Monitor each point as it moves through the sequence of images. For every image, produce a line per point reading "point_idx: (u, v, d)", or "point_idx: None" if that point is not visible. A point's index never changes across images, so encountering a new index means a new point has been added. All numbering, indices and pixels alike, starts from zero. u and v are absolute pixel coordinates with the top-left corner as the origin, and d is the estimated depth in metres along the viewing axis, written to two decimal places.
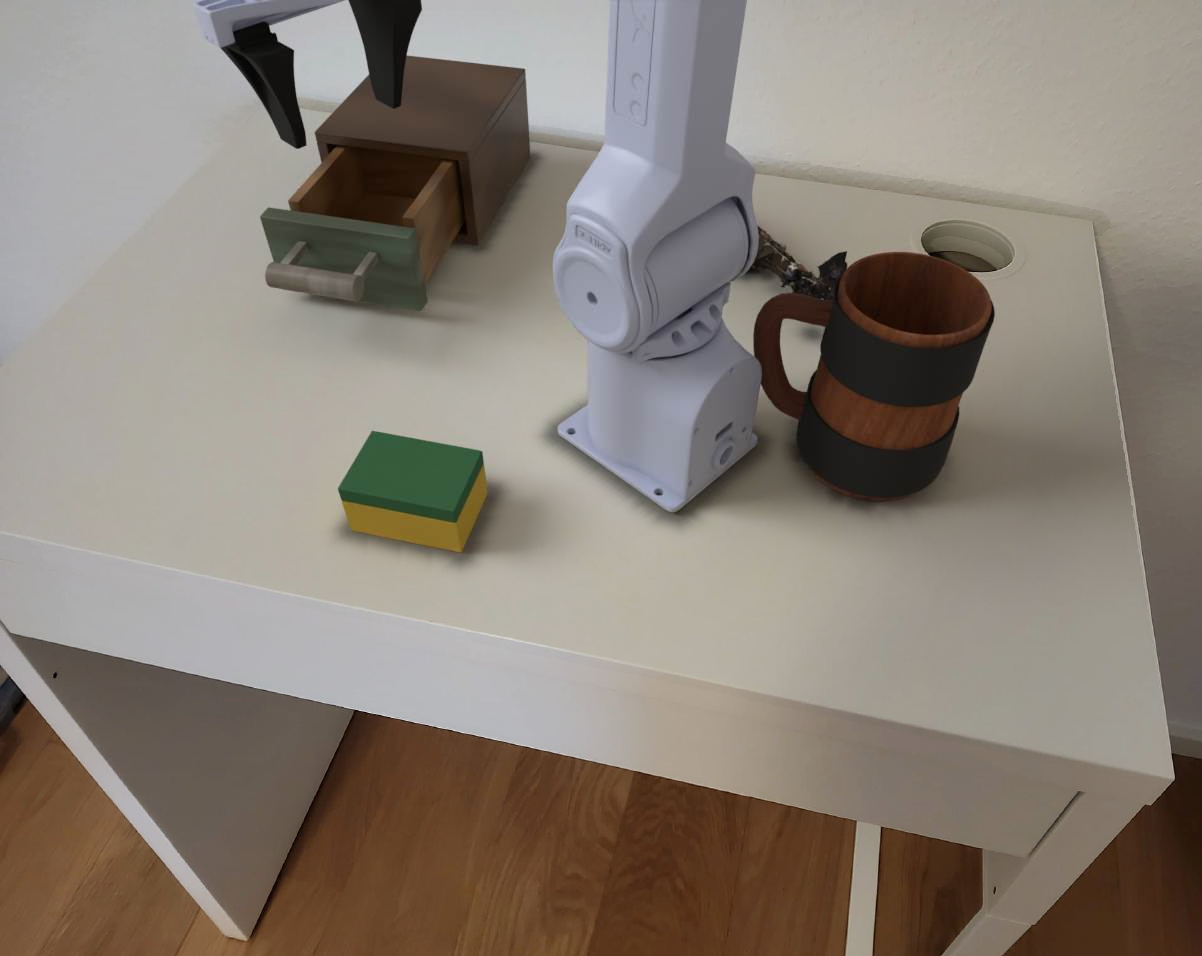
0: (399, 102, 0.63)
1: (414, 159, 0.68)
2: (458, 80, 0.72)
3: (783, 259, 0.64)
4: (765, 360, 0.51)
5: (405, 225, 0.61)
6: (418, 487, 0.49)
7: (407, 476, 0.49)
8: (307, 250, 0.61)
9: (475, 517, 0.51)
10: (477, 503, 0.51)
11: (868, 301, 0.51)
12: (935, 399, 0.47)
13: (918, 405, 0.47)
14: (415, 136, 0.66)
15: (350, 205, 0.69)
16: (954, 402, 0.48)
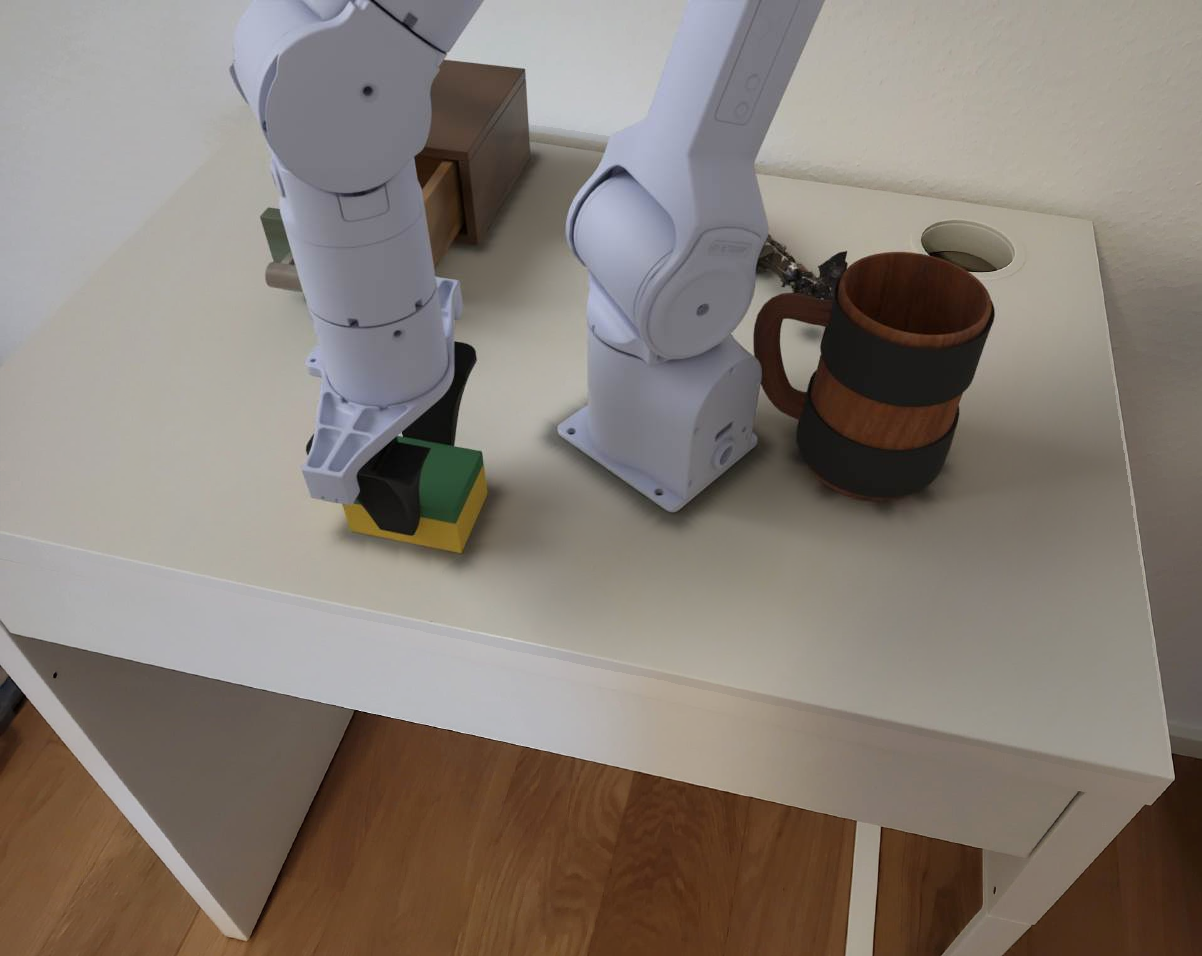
0: None
1: (414, 159, 0.68)
2: (458, 80, 0.72)
3: (783, 259, 0.64)
4: (765, 360, 0.51)
5: None
6: None
7: None
8: None
9: (475, 517, 0.51)
10: (477, 504, 0.51)
11: (868, 301, 0.51)
12: (935, 399, 0.47)
13: (918, 405, 0.47)
14: None
15: None
16: (954, 402, 0.48)
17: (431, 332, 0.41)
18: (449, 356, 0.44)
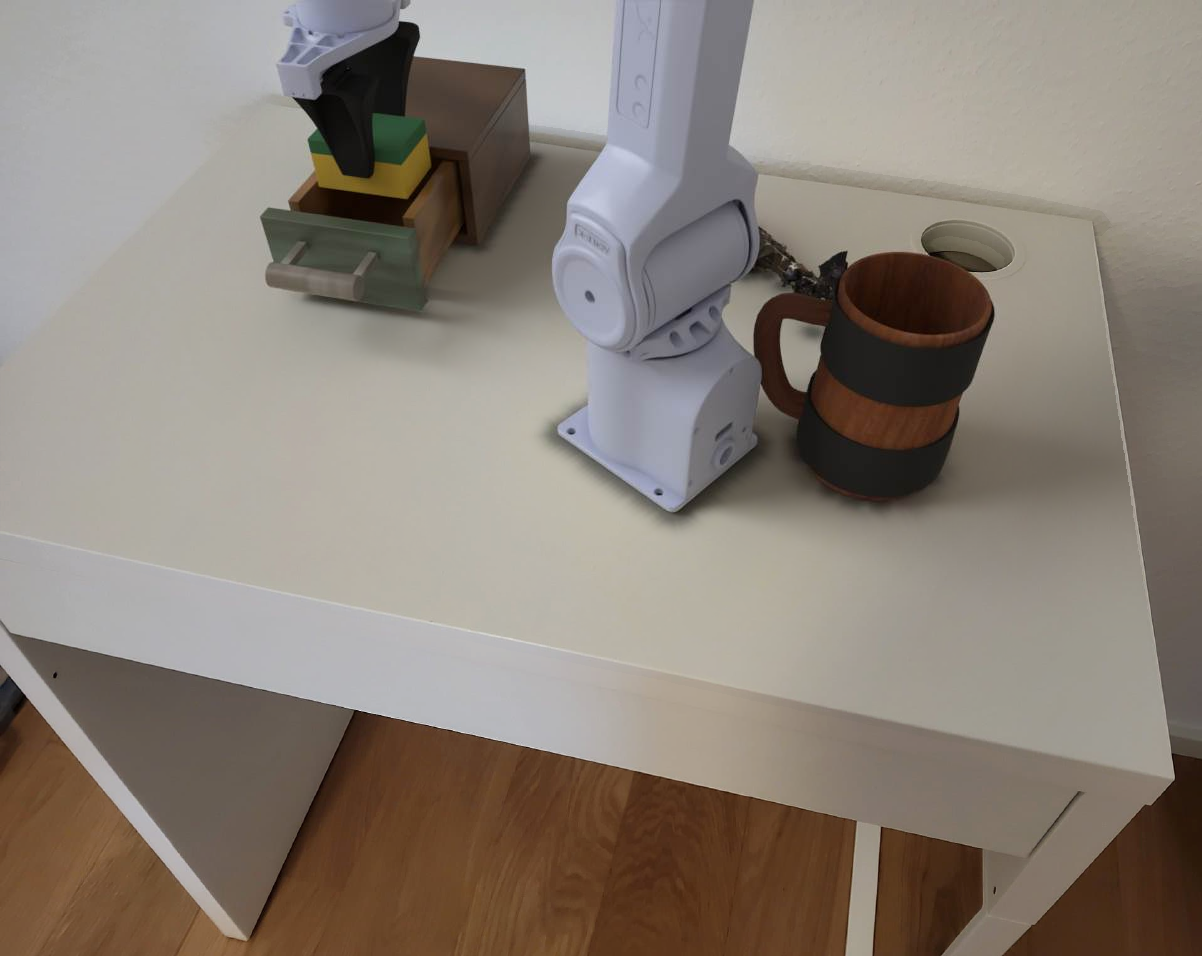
0: None
1: None
2: (458, 80, 0.72)
3: (783, 259, 0.64)
4: (765, 360, 0.51)
5: (405, 225, 0.61)
6: None
7: None
8: (307, 250, 0.61)
9: (420, 178, 0.64)
10: (421, 166, 0.63)
11: (868, 301, 0.51)
12: (935, 399, 0.47)
13: (918, 405, 0.47)
14: None
15: (350, 205, 0.69)
16: (954, 402, 0.48)
17: None
18: (394, 10, 0.57)
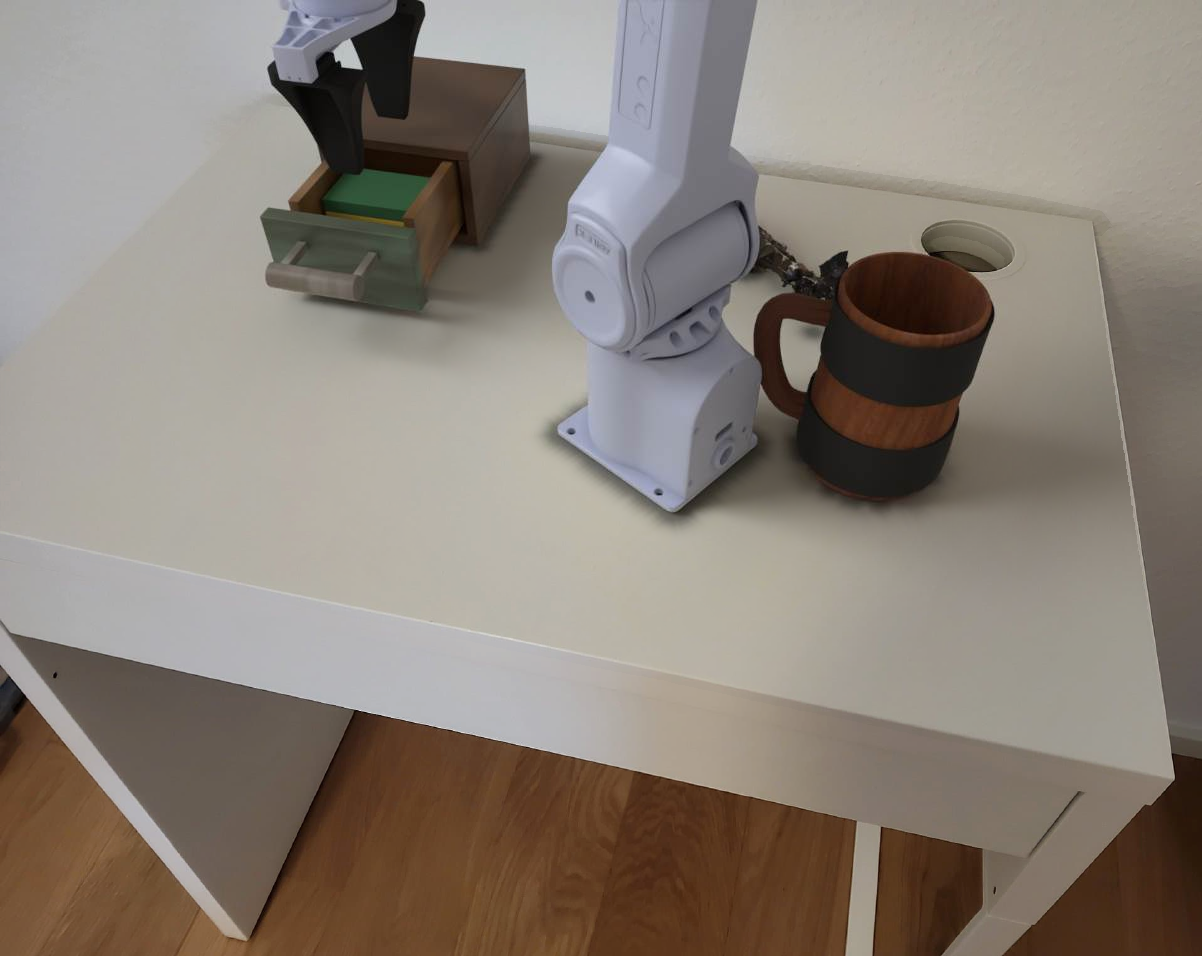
0: (407, 112, 0.64)
1: (414, 159, 0.68)
2: (458, 80, 0.72)
3: (784, 259, 0.64)
4: (765, 360, 0.51)
5: (405, 225, 0.61)
6: (383, 198, 0.64)
7: (375, 192, 0.64)
8: (307, 250, 0.61)
9: None
10: None
11: (868, 301, 0.51)
12: (935, 399, 0.47)
13: (918, 405, 0.47)
14: (415, 136, 0.66)
15: None
16: (954, 402, 0.48)
17: None
18: None
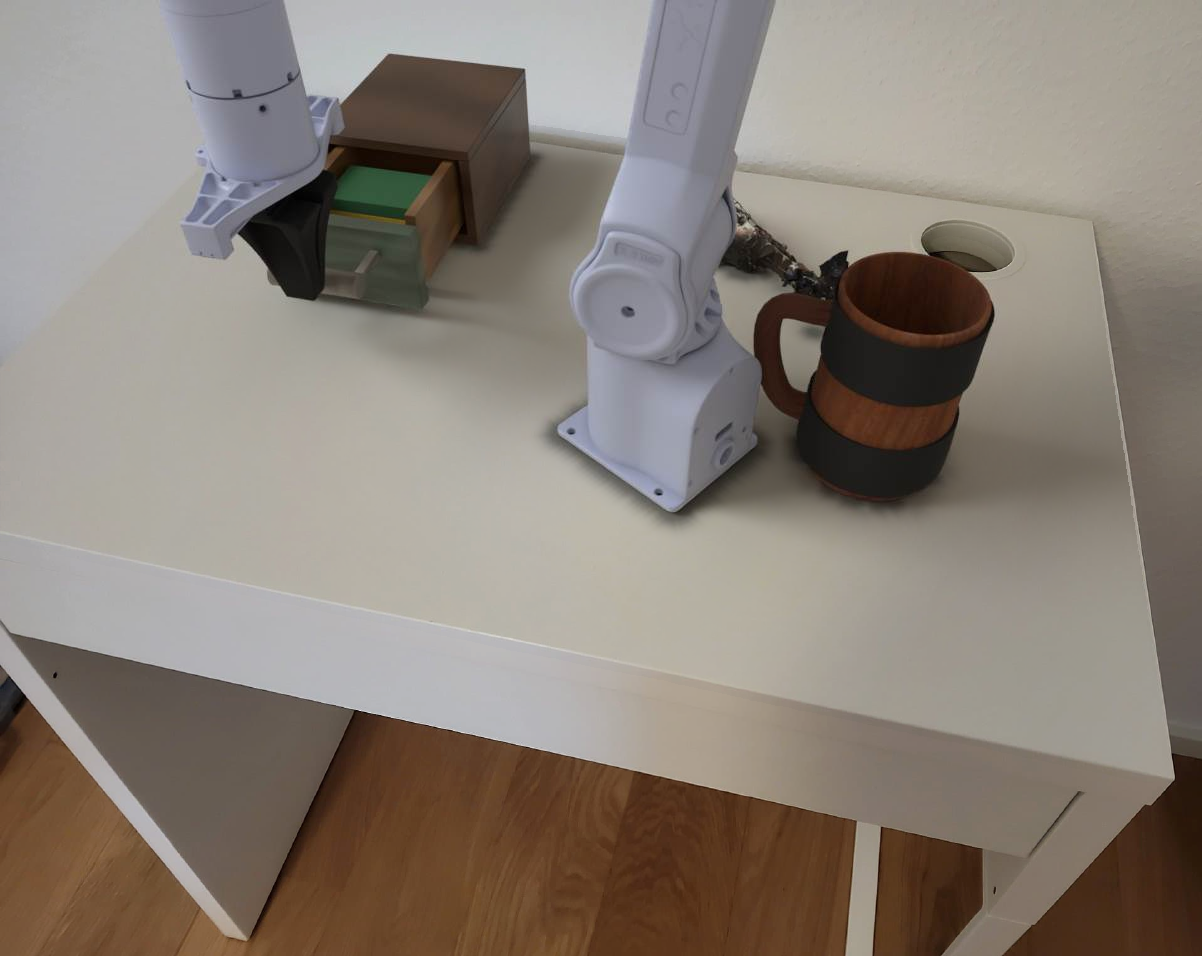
0: (323, 286, 0.57)
1: (416, 157, 0.68)
2: (458, 80, 0.72)
3: (784, 258, 0.64)
4: (765, 360, 0.51)
5: (406, 223, 0.61)
6: (384, 196, 0.64)
7: (376, 190, 0.65)
8: None
9: None
10: None
11: (868, 301, 0.51)
12: (935, 399, 0.47)
13: (918, 405, 0.47)
14: (415, 136, 0.66)
15: None
16: (954, 402, 0.48)
17: (295, 114, 0.48)
18: (320, 149, 0.51)
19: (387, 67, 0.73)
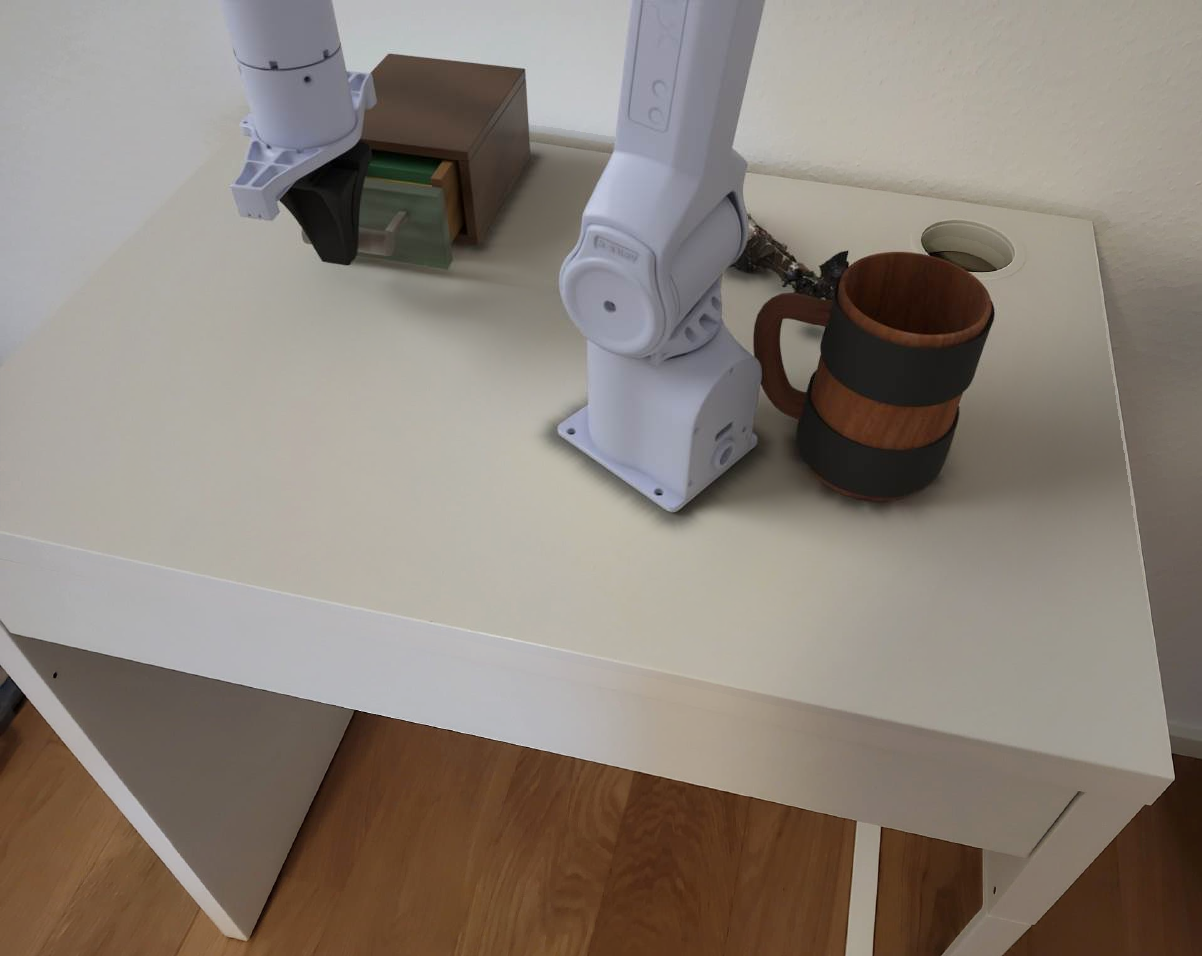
0: (356, 252, 0.61)
1: None
2: (458, 80, 0.72)
3: (784, 259, 0.64)
4: (765, 360, 0.51)
5: (433, 186, 0.64)
6: (410, 162, 0.67)
7: (403, 156, 0.68)
8: None
9: None
10: None
11: (868, 301, 0.51)
12: (935, 399, 0.47)
13: (918, 405, 0.47)
14: (415, 136, 0.66)
15: None
16: (954, 402, 0.48)
17: (336, 85, 0.51)
18: (357, 120, 0.55)
19: (387, 67, 0.73)
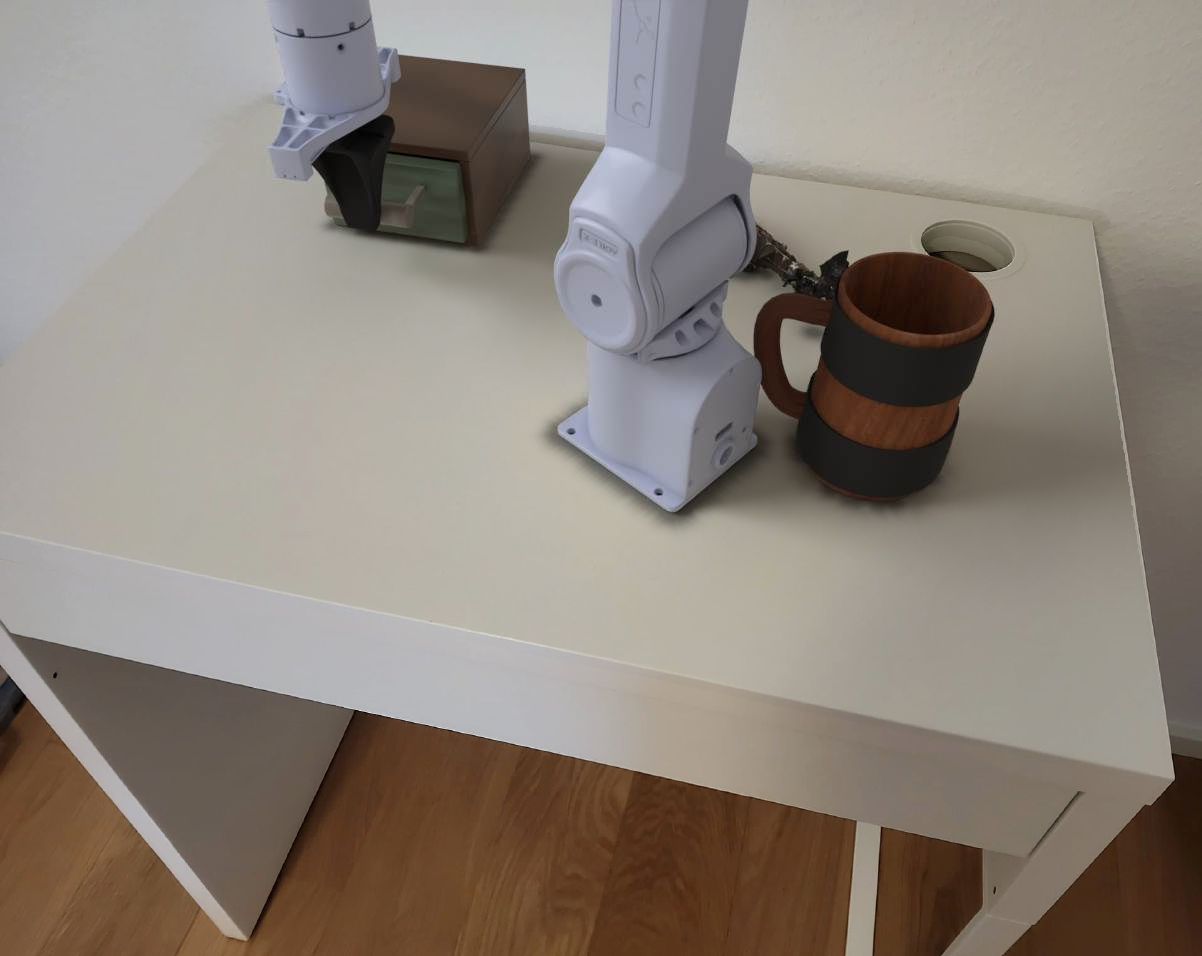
0: (378, 223, 0.63)
1: None
2: (458, 80, 0.72)
3: (784, 258, 0.64)
4: (765, 360, 0.51)
5: (450, 162, 0.67)
6: None
7: None
8: None
9: None
10: None
11: (868, 301, 0.51)
12: (935, 399, 0.47)
13: (918, 405, 0.47)
14: (415, 136, 0.66)
15: None
16: (954, 402, 0.48)
17: (367, 53, 0.54)
18: (385, 89, 0.57)
19: None
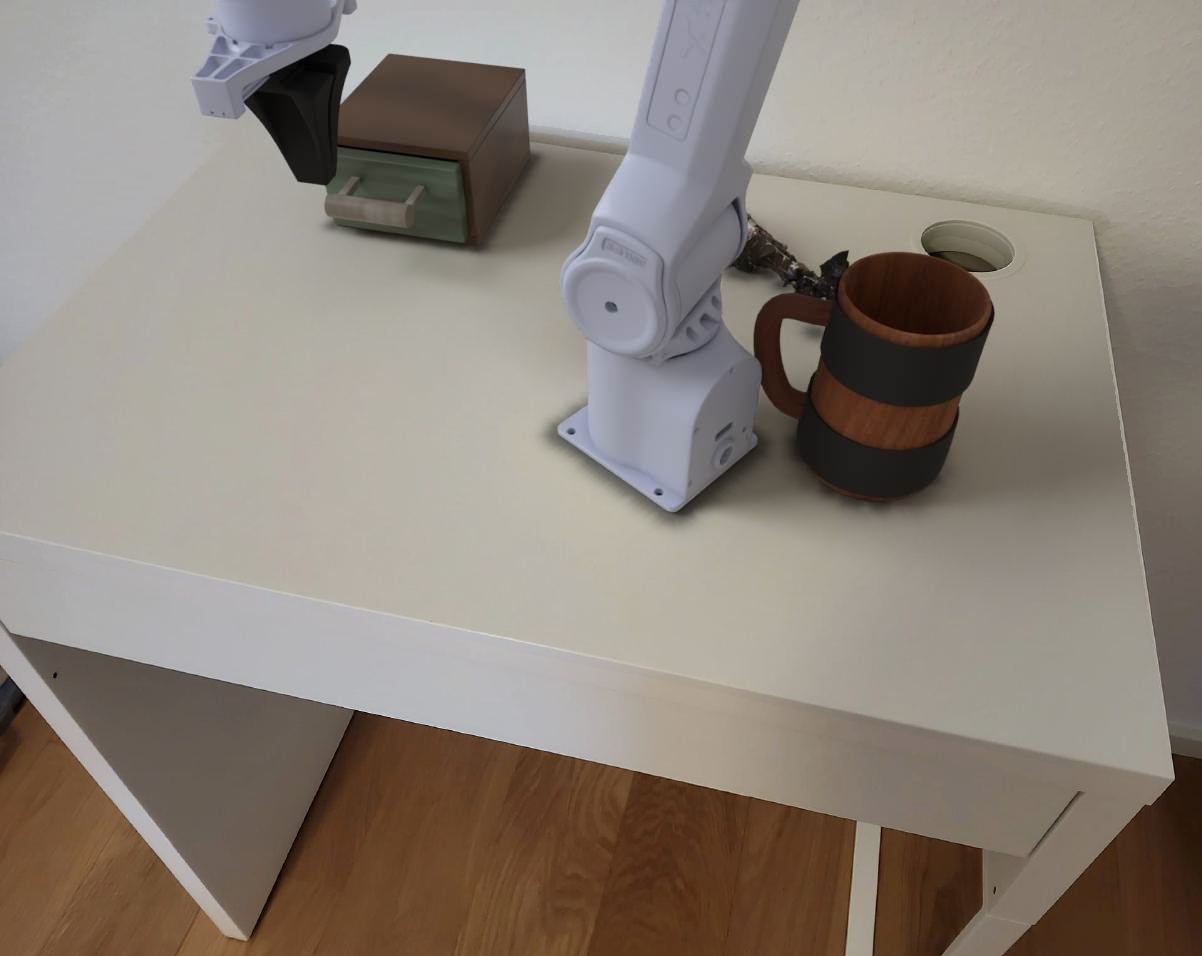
0: (335, 171, 0.56)
1: None
2: (458, 80, 0.72)
3: (784, 258, 0.64)
4: (765, 360, 0.51)
5: (450, 162, 0.67)
6: None
7: None
8: (360, 185, 0.67)
9: None
10: None
11: (868, 301, 0.51)
12: (935, 399, 0.47)
13: (918, 405, 0.47)
14: (415, 136, 0.66)
15: None
16: (954, 402, 0.48)
17: None
18: (333, 17, 0.50)
19: (387, 67, 0.73)
